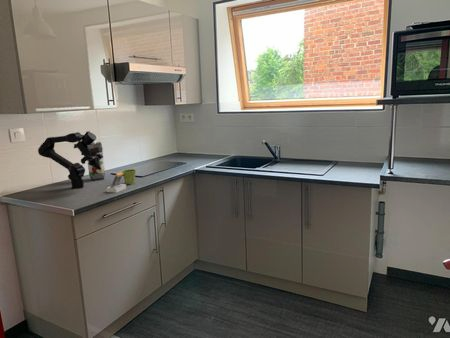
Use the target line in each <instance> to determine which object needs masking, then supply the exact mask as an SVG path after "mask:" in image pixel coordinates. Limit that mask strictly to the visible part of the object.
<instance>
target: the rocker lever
mask: <svg viewBox="0 0 450 338" xmlns="http://www.w3.org/2000/svg"><path fill="white" fill-rule="evenodd" d="M122 178H123V173H122V172H117V173H115V176H114V179H113V181H112V185H113V186H115V185H118V184H119V183H120V184H121V180H122Z"/></svg>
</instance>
